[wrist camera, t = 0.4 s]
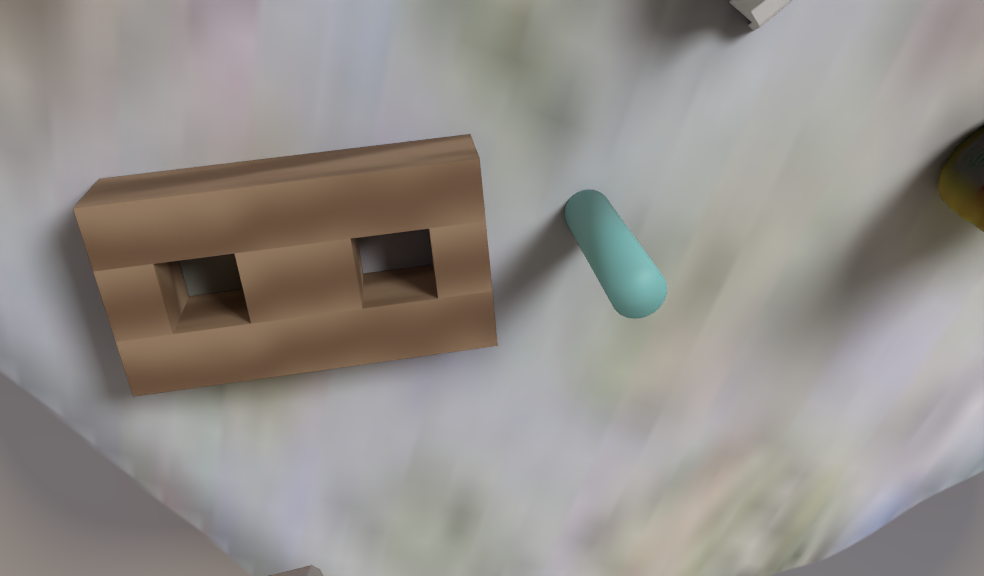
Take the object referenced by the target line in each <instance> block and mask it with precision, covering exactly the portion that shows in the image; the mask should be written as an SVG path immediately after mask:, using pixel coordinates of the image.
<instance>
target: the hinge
mask: <svg viewBox="0 0 984 576" xmlns="http://www.w3.org/2000/svg"><path fill="white" fill-rule="evenodd" d="M791 1H792V0H731V1H730V2H729V3H730V4H732V5H733V6H734V7H735V8H736V9H737V10H739V11H740V12H741V13H742V14H743V15H744V16H745V17H747V18H748V19H749V20H750V21H751V23H750V24H749V25H748V26H749V27H750V28H751V29H752V30H753V31H754V30H756V29H758V28H760V27H761V26H762V25H763V24H764V23H766V22H767V21H768V20H769V19H770V18H772V17H773V16H774V15H775V14H777V13H778V12H779V11H780V10H781V9H783V8H784V7H785V6H786V5H787V4H789V3H790V2H791Z"/></svg>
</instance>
